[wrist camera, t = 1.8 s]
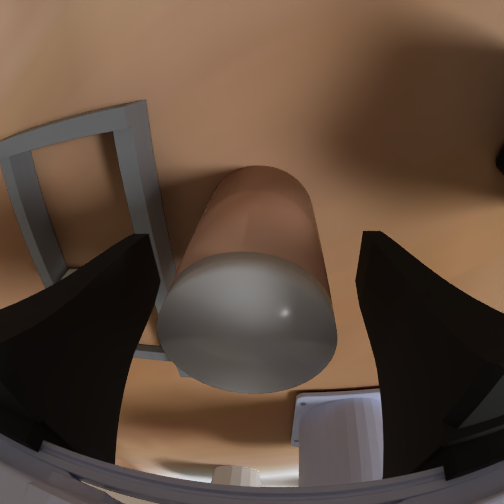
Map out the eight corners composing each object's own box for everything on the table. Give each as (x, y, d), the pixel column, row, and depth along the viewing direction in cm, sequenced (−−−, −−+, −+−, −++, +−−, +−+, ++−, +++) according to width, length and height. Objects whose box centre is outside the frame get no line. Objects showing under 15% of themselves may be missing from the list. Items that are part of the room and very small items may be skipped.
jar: (310, 259, 14) (325, 393, 8) (214, 259, 15) (178, 388, 9) (314, 165, 12) (350, 272, 6) (203, 168, 12) (135, 272, 6)
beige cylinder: (206, 473, 34) (199, 518, 28) (213, 460, 30) (205, 513, 24) (257, 480, 34) (253, 525, 28) (271, 468, 30) (268, 520, 24)
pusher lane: (198, 357, 19) (192, 383, 17) (95, 346, 19) (84, 367, 18) (146, 99, 11) (123, 106, 9) (16, 133, 11) (-10, 145, 10)
